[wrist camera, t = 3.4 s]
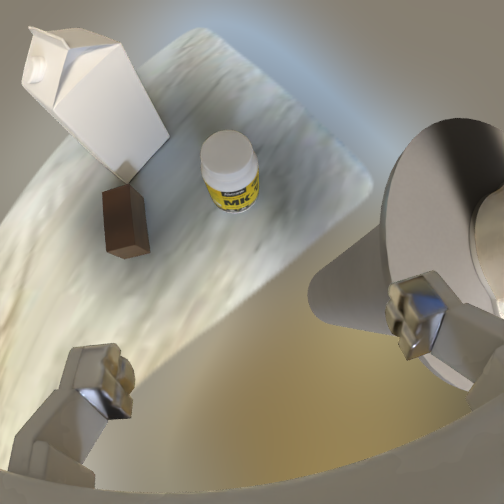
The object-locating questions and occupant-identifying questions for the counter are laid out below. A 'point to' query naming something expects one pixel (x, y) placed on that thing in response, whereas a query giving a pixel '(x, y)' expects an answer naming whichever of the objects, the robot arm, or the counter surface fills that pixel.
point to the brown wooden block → (125, 222)
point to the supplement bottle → (230, 170)
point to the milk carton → (95, 97)
